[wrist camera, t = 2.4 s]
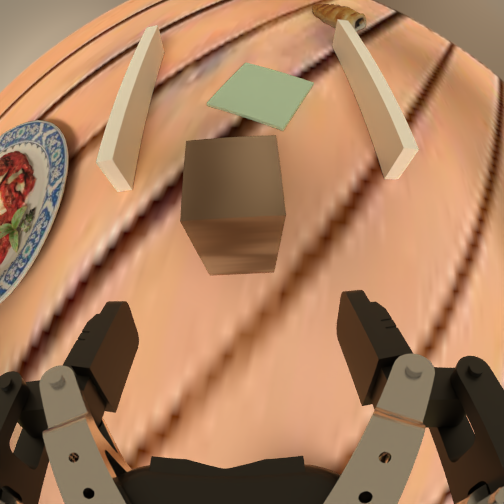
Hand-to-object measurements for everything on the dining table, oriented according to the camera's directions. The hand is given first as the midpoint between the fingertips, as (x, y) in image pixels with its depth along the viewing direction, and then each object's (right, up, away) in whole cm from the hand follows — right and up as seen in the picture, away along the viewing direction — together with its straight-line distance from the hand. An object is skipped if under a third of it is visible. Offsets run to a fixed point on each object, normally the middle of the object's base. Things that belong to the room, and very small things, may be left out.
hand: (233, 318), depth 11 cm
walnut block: (0, +3, +13) cm, 14 cm away
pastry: (+15, +41, +27) cm, 52 cm away
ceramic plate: (-31, +7, +16) cm, 35 cm away
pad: (+2, +20, +19) cm, 28 cm away
